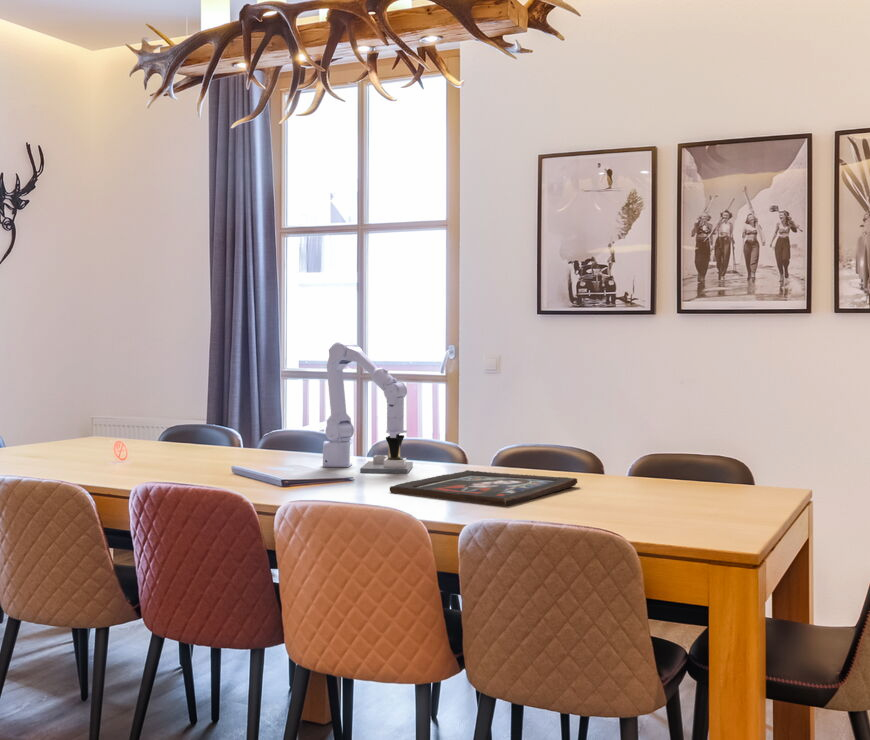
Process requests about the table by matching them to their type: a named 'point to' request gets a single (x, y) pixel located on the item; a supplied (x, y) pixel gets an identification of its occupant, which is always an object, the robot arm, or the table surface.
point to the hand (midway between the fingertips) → (395, 457)
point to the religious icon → (484, 487)
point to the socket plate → (386, 465)
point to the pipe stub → (394, 458)
